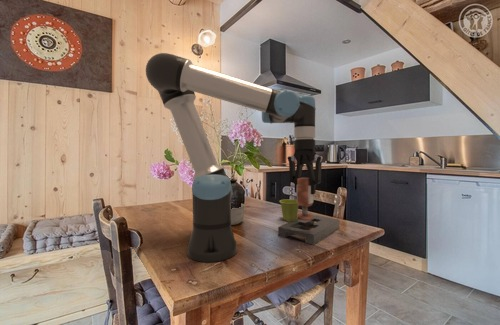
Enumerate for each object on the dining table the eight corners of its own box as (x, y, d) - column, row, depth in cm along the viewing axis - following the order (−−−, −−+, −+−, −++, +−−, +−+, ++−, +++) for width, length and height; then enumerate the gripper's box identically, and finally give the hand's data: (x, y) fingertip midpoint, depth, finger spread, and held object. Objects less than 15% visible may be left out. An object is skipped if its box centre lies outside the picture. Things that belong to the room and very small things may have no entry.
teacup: (240, 227, 101) (240, 208, 100) (215, 225, 103) (215, 207, 102) (247, 218, 114) (247, 201, 114) (225, 217, 116) (225, 200, 116)
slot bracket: (278, 236, 90) (278, 226, 90) (307, 221, 108) (307, 214, 108) (313, 244, 81) (313, 234, 81) (339, 227, 99) (339, 219, 99)
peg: (294, 218, 90) (294, 178, 89) (301, 215, 94) (301, 177, 94) (308, 221, 86) (308, 179, 86) (315, 218, 91) (315, 178, 90)
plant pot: (278, 222, 108) (278, 202, 108) (280, 216, 117) (280, 198, 117) (299, 223, 106) (300, 203, 106) (300, 217, 115) (300, 199, 115)
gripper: (331, 138, 87) (331, 203, 88) (289, 140, 98) (289, 198, 98) (322, 137, 81) (322, 207, 82) (279, 139, 92) (279, 201, 93)
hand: (304, 202), depth 90 cm, fingers closed on peg, 4 cm apart
